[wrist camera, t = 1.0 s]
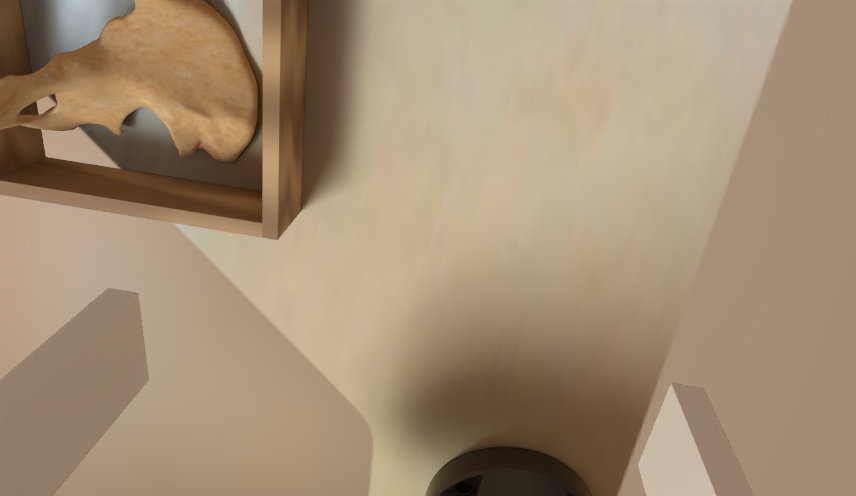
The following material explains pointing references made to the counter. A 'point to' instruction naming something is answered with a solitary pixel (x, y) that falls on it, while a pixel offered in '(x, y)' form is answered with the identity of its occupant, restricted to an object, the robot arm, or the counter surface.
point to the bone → (149, 80)
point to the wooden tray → (165, 196)
